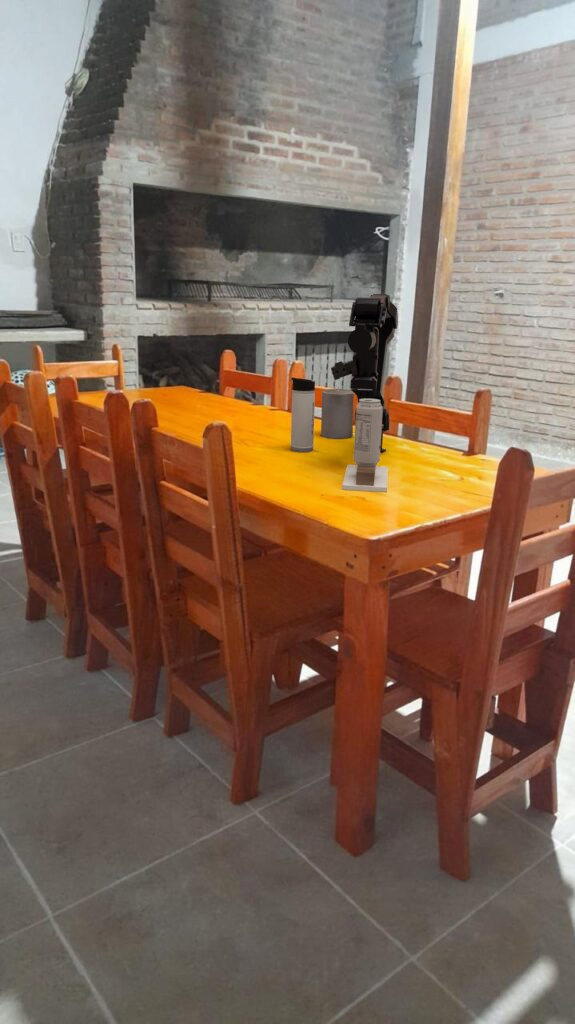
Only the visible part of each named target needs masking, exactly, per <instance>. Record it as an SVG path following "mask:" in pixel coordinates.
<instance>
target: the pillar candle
mask: <svg viewBox="0 0 575 1024" xmlns="http://www.w3.org/2000/svg"><path fill="white" fill-rule="evenodd" d="M354 395H355V393H354V392H353V391H351V389H343V388H340V387H339V386H338V387H337V388H332V389H330V388H329V389H323V390H322V392H321V423H320V424H321V425H320V436H321V437H322V438H326V439H330V438H331V440H337V439H338V440H339V439H340V440H342V439H343V440H344V439H345V438H346V439H351V438H352V437H353V435H354V434H353V433H354V432H353V431H354V398H355V396H354Z"/></svg>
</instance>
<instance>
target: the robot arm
mask: <svg viewBox="0 0 575 1024" xmlns="http://www.w3.org/2000/svg"><path fill="white" fill-rule="evenodd" d="M398 311H399V310H398V308H397V306H395V304H394V303H393V302H392V301H391V296H390V295H389V294H386V293H373V294H370V296H369V297H360V296H359V297H356V298H355V300H354V301H353V302H352V305H351V311H350V316H349V320H348V321H349V322H348V327H354V330H352V331H351V332H350V334H349V335H348V338H347V345H348V346H349V347H348V348H349V349H350V351H352V352H354V354H353V356H352V359H350V360H348V361H345V362H344V361H342V360H340V361H338V362H335V363H334V365H333V366H331V367H330V370H331V374H332V377H333V380H334V381H337V380H340V379H341V378H343V377H346V376H349V375H351V377H352V378H351V379H350V387H349V388H350V390H351V391H353V392H354V395H356V399H357V404H358V403H359V400H360V399H378V400H381V401H380V403H381V405H382V407H383V413H382V430H381V447H380V453H383V452H387V449H386V448H383V438H384V436H383V435H384V432H386V431H389V430H390V414H389V413H388V409H387V406H386V402H385V400H384V398H383V396H382V392H383V385H384V384H383V383H384V375H385V368H386V367H385V366H386V359H387V353H388V352H387V351H388V350H387V349H388V345H389V344H390V342H391V341H392V340H393V339H394V338H395V334H396V333H395V331H396V330H397V329H398V326H399V313H398ZM355 423H356V409H355V412H354V424H355Z"/></svg>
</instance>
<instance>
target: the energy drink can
mask: <svg viewBox="0 0 575 1024" xmlns="http://www.w3.org/2000/svg"><path fill="white" fill-rule="evenodd" d="M380 401H381V400H378V399H360V400H359V403H358V402H357V405H356V407H355V410H356V423H355V422H354V427H355V428H354V445H353V446H354V448H353V449H354V450H353V461H354V462H355V465H358V466H363V467H373V466H378V463H380V460H381V452H380V447H381V430H382V426H383V425H382V413H383V407H382V405H381V403H380Z"/></svg>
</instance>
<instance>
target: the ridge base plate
mask: <svg viewBox="0 0 575 1024" xmlns="http://www.w3.org/2000/svg"><path fill="white" fill-rule="evenodd" d="M357 467H358V465H356V464H347V467H346V469H345V474H344V477H343V480H342V481H343V482H342V484H341V485H342V486H341V489H342V490H344V491H345V490H346V491H347V490H348V491H358V492H359V491H361V492H362V491H363V492H365V491H366V492H376V493H378V492H379V493H381V492H382V493H388V476H389V475H388V473H389V471H388V469H389V467H388V466H383V465H382V466H381V465H380V466H378V465H377V466H376V469H375V479H374V486H368V485H356V473H357Z"/></svg>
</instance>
